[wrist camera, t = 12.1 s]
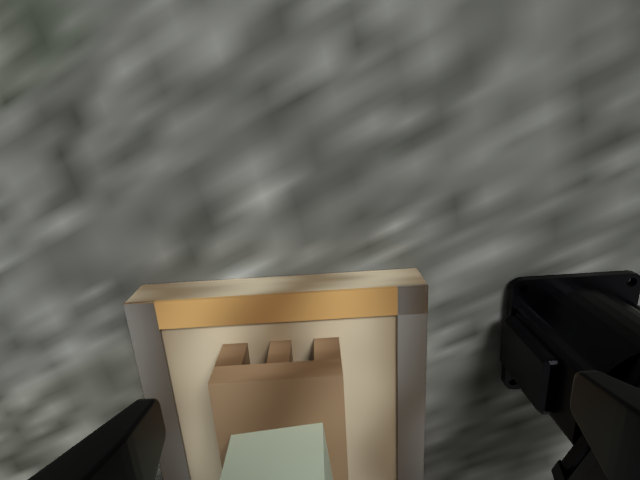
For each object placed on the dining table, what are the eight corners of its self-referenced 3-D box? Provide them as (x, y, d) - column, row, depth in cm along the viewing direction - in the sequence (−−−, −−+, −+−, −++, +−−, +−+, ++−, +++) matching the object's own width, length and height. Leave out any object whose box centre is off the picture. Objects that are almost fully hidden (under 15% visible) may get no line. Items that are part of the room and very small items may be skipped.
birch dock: (416, 268, 21) (428, 285, 19) (413, 480, 25) (422, 514, 23) (142, 284, 21) (123, 304, 19) (185, 493, 25) (174, 529, 23)
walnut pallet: (338, 337, 20) (343, 375, 17) (346, 481, 22) (351, 535, 20) (222, 344, 20) (207, 383, 17) (244, 487, 22) (234, 542, 20)
